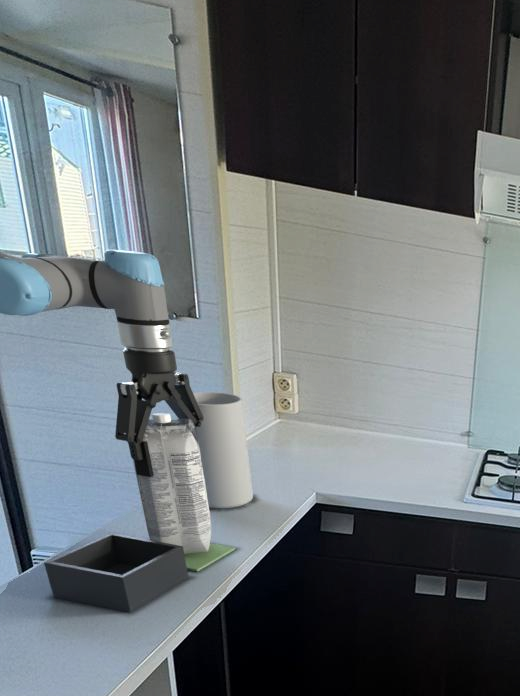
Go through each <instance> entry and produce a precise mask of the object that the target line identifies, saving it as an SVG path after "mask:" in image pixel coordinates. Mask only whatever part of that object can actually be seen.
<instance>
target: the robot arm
mask: <svg viewBox="0 0 520 696" xmlns="http://www.w3.org/2000/svg"><path fill="white" fill-rule="evenodd" d="M103 257H104V258H103V260H92V259H85V258H77V257H71V256H61V255H55V254H52V253H51V254H50V253H33V252H32V253H30V252H29V253H28V252H27V253H24V254H22V255H21V257H18V256H15V255H11V254H8V253H5V252H2V251H0V314H2V315H6V316H21V317H27V316H33V315H37V314H39V313H44V312H49V311H54V310H56V311H57V310H62V309H69V308H73V307H83V308H95V309H104V310H114V313H115V317H116V322H117V323H116V324H117V329H118V334H119V339H120V343H121V345H122V346H124V348H123V349H122V353H123V358H124V363H125V368H126V369H127V370H128V371H129V372H130V373H131V380H130V382H122V381H121V382H120V381H118V382H117V383H116V390H117V394H118V397H117V398H118V400H117V412H116V423H115V432H114V433H115V435H114V437H115V439H116V440H118V441H122V442H126V443H127V445H128V449H129V453H130V458H131V459H132V460H133V459H134V463H135V468H136V472H137V475H141V476H146V477H153V476H154V474H153V469H152V464H151V459H150V454H149V448H148V443H147V442H146V441H143V437H144V434H145V431H146V427H147V424H148V421H149V419H150V418H151V415H152V414H151V413H152V411H153V409H154V408H155V407H156V406H157V404H159V403H161V402H162V401H165V402H166V404H167V406H168V408H170V410H171V411H172V412H173V413H174V415H175V416H176V417H177V419H190V420H192V422H193V423H194V426H195V430H196V427H200V426H201V422H199V421H203V419H204V417H203V415H202V412H201V410H200V408H199V406H198V403H197V401H196V399H195V396H194V394H193V393H194V392H193V390H192V388H191V385H190V377H189V375H188V374H187V373H183V372H178V371H177V370H178V366H177V360H176V353H175V351H174V350H173V349H171V348H172V347H173V346H174V344H173V338H172V331H171V326H170V319H169V312H168V306H167V304H168V303H167V298H166V291H165V282H164V279H163V275H162V270H161V267H160V262H159V260H158V258H157V257H156V256H154V255H153V254H151V253H148V252H141V251H135V250H125V249H124V250H123V249H106V250H105V251H104V252H103ZM194 413H195V414H194ZM134 433H136V435H134ZM196 434H197V430H196ZM197 438H198V437H197ZM134 463H133V464H134ZM135 468H134V469H135Z"/></svg>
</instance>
